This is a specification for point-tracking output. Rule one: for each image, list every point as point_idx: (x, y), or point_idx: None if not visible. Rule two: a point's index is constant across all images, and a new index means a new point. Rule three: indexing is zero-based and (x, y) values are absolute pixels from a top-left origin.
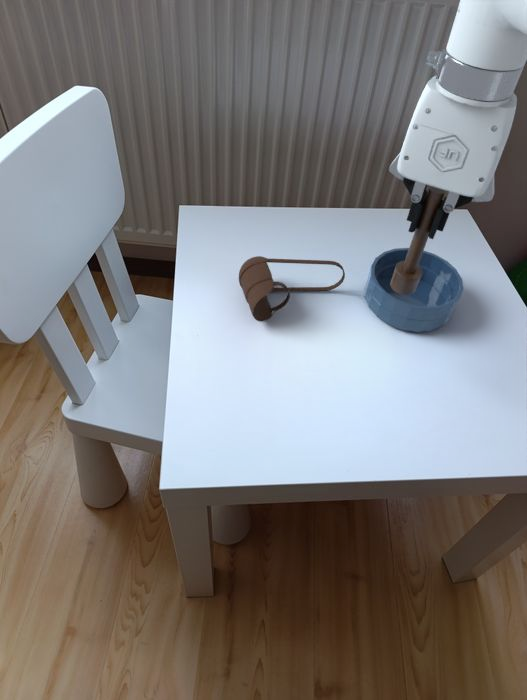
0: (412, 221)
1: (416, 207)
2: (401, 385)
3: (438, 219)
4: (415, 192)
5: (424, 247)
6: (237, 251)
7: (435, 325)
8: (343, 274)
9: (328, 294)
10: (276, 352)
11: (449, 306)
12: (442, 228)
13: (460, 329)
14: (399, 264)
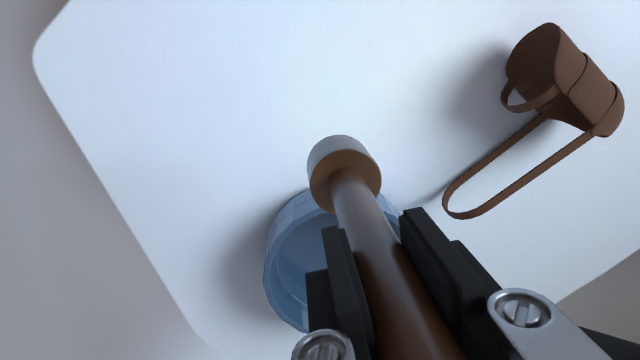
0: (435, 229)
1: (474, 271)
2: (257, 85)
3: (339, 283)
4: (560, 333)
5: (339, 225)
6: (618, 163)
7: (274, 222)
8: (450, 212)
9: (446, 179)
10: (461, 5)
11: (267, 253)
12: (309, 278)
13: (245, 248)
14: (375, 184)
